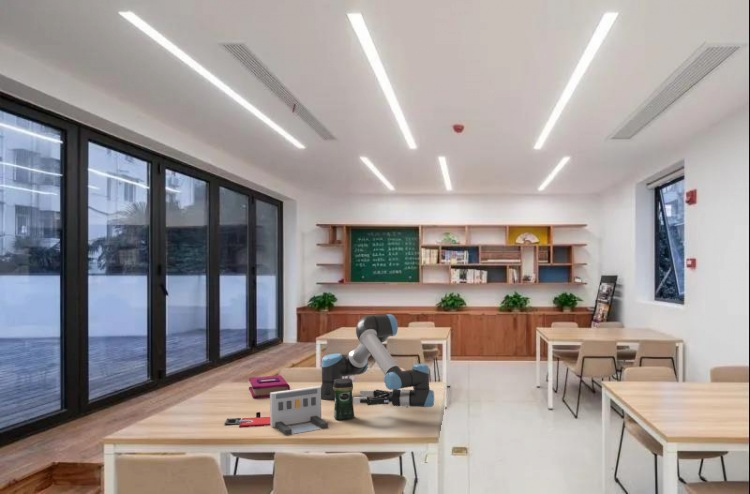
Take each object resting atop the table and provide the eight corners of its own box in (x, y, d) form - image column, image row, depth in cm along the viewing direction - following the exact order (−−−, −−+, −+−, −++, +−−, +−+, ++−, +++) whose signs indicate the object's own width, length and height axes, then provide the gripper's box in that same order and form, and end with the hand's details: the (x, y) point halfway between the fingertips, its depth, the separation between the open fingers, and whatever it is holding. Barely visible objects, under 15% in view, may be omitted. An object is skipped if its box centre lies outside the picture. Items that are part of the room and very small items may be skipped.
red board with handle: (227, 419, 240) (222, 429, 225) (227, 413, 240) (222, 423, 225) (290, 416, 244) (289, 426, 229) (290, 410, 244) (289, 420, 229)
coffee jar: (352, 414, 242) (351, 376, 243) (355, 419, 234) (354, 379, 235) (332, 416, 240) (332, 377, 241) (334, 421, 232) (334, 381, 233)
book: (282, 386, 313) (282, 373, 313) (290, 395, 286) (289, 382, 287) (248, 389, 306) (248, 376, 306) (252, 399, 279) (252, 386, 280)
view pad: (286, 427, 224) (286, 426, 224) (311, 423, 230) (311, 422, 230) (294, 433, 214) (294, 433, 214) (319, 429, 220) (319, 428, 220)
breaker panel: (270, 425, 227) (269, 392, 228) (319, 417, 238) (318, 386, 239) (272, 427, 224) (272, 394, 225) (322, 419, 235) (321, 387, 236)
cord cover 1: (275, 426, 225) (275, 422, 225) (281, 425, 227) (281, 421, 227) (284, 435, 213) (284, 430, 213) (291, 434, 214) (291, 429, 214)
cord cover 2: (310, 420, 233) (310, 416, 233) (316, 419, 235) (316, 415, 235) (321, 428, 221) (321, 424, 221) (327, 427, 222) (327, 423, 222)
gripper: (397, 413, 219) (350, 411, 223) (405, 399, 244) (363, 398, 248) (396, 396, 220) (350, 395, 224) (404, 383, 244) (362, 383, 248)
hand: (357, 396), depth 236 cm, fingers open, 13 cm apart
